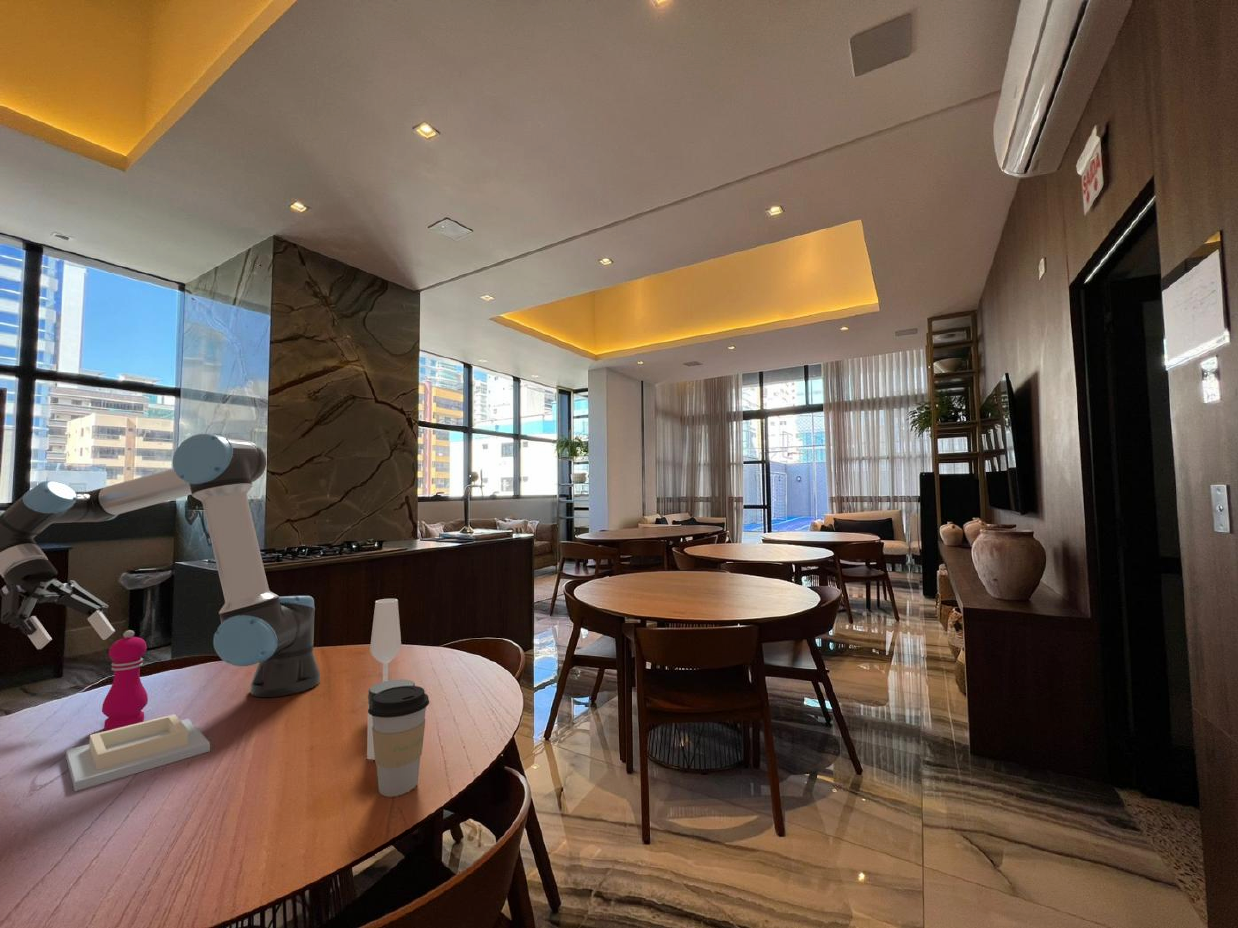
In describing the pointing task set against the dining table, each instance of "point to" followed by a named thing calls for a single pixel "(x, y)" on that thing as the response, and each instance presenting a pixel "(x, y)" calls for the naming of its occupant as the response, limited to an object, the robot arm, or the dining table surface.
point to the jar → (372, 693)
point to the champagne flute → (385, 633)
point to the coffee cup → (398, 737)
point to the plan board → (134, 750)
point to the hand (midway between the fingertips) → (79, 639)
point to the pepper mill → (125, 683)
